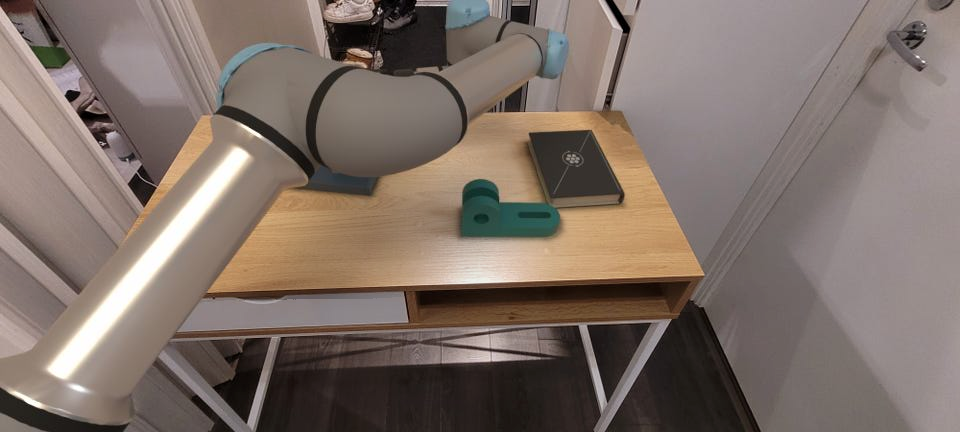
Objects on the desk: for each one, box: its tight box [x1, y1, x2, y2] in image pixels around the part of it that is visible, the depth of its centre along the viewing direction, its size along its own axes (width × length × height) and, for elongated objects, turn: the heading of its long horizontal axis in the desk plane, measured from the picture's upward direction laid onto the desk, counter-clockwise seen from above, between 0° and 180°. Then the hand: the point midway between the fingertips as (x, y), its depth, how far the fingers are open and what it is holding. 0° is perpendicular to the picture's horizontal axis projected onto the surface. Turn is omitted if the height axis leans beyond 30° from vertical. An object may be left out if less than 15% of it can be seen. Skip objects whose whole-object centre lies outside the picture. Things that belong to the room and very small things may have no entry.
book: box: [526, 129, 626, 209], centre depth 96 cm, size 22×15×3 cm
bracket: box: [461, 178, 561, 238], centre depth 83 cm, size 18×7×8 cm, turn 91°
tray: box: [293, 166, 379, 196], centre depth 94 cm, size 19×14×2 cm
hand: (299, 100), depth 83 cm, fingers open, 13 cm apart
